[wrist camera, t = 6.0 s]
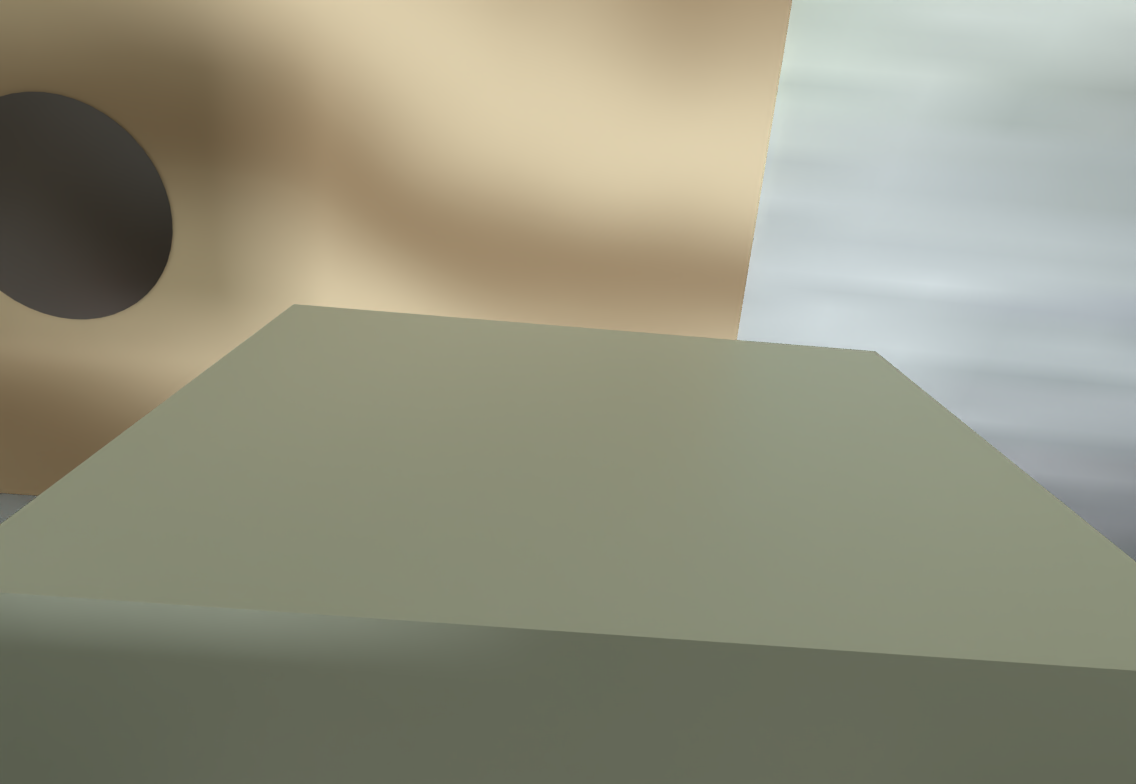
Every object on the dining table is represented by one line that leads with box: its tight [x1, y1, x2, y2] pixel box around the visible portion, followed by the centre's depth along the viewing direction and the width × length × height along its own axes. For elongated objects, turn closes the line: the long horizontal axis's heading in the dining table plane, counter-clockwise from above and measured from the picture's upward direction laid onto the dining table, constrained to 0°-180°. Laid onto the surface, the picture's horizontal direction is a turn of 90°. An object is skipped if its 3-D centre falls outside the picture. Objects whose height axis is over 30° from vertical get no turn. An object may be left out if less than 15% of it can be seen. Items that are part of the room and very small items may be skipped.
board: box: [0, 0, 792, 496], centre depth 17 cm, size 16×18×1 cm
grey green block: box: [0, 304, 1136, 784], centre depth 7 cm, size 6×6×5 cm
